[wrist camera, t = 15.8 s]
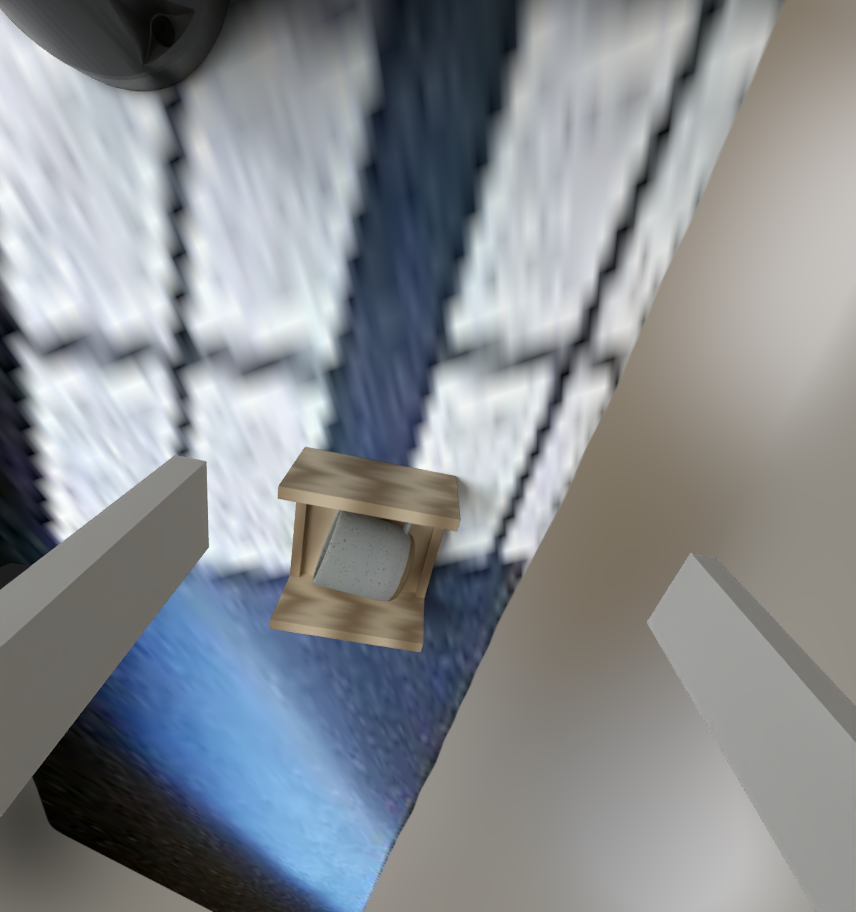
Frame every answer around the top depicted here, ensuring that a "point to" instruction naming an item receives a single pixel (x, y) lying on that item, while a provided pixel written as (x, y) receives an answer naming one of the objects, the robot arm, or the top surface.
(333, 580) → the ceramic mug
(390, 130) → the top surface
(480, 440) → the top surface
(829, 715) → the robot arm
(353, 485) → the holder
